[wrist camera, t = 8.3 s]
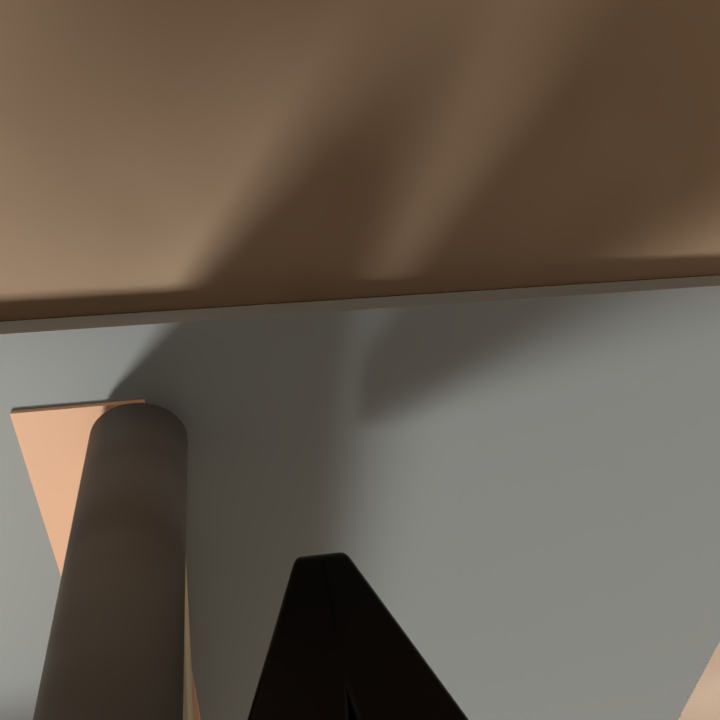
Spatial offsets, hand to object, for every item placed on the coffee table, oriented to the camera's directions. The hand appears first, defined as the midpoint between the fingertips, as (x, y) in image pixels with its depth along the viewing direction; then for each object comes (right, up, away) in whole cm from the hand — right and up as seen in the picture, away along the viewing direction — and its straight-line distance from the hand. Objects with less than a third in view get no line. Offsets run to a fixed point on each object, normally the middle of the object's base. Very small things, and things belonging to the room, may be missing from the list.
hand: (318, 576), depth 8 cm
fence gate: (-3, -3, +3) cm, 5 cm away
